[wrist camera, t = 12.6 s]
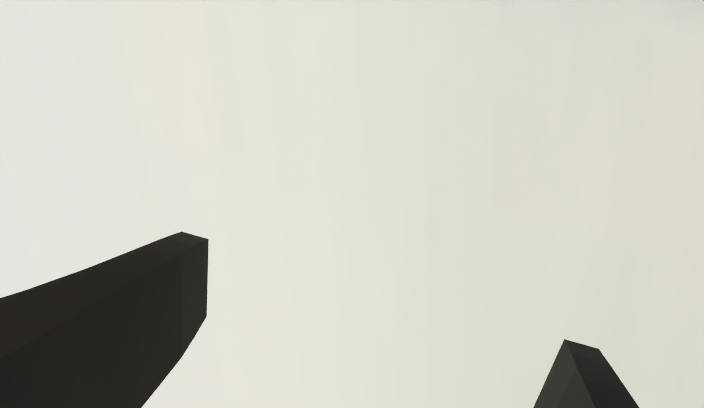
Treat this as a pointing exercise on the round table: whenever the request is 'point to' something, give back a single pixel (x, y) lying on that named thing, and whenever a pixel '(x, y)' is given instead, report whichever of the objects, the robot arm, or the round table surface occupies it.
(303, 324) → the round table surface
